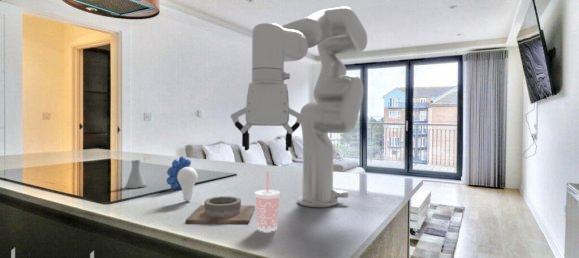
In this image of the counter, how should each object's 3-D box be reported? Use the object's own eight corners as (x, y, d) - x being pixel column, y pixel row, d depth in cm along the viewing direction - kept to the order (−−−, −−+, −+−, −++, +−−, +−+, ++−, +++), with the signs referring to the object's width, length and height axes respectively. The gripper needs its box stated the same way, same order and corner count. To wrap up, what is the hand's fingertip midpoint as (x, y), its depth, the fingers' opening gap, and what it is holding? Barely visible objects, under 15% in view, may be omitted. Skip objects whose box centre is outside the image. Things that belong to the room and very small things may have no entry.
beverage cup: (249, 230, 81) (249, 172, 80) (265, 223, 86) (265, 168, 86) (269, 235, 78) (270, 174, 77) (285, 228, 83) (285, 171, 82)
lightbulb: (191, 204, 103) (191, 168, 103) (173, 203, 105) (173, 168, 104) (201, 199, 109) (200, 165, 109) (183, 198, 111) (183, 165, 110)
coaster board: (254, 208, 100) (254, 194, 100) (248, 223, 86) (248, 207, 86) (200, 207, 100) (200, 194, 100) (185, 222, 86) (185, 207, 86)
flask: (127, 185, 131) (126, 159, 130) (147, 184, 133) (147, 159, 132) (123, 189, 124) (123, 162, 123) (145, 188, 126) (145, 161, 125)
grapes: (183, 185, 132) (183, 154, 131) (196, 186, 129) (196, 155, 128) (158, 190, 122) (158, 157, 121) (172, 193, 118) (172, 158, 118)
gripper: (303, 80, 84) (302, 149, 85) (234, 79, 84) (233, 148, 85) (305, 76, 76) (303, 152, 77) (228, 75, 77) (227, 151, 77)
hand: (267, 150), depth 81 cm, fingers open, 9 cm apart
